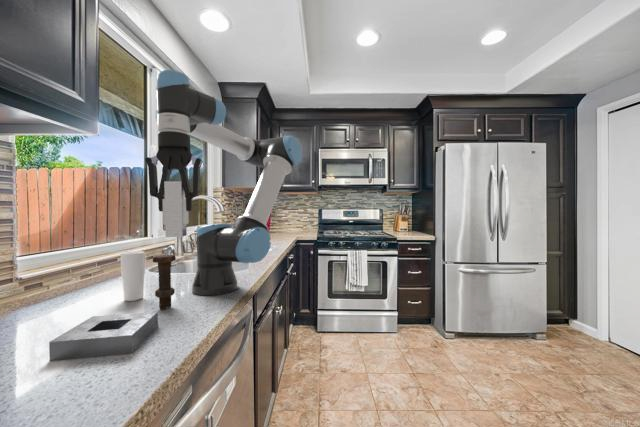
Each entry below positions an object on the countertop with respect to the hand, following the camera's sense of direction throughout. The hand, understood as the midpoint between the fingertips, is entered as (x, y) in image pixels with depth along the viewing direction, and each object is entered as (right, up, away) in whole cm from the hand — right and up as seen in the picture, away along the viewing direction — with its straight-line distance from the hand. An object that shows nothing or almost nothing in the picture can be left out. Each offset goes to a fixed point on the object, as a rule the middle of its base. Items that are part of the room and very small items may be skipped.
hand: (176, 223), depth 77 cm
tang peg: (0, -3, 0) cm, 3 cm away
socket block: (-7, -25, -14) cm, 29 cm away
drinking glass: (-22, -25, +18) cm, 38 cm away
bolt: (-7, -25, +9) cm, 27 cm away
